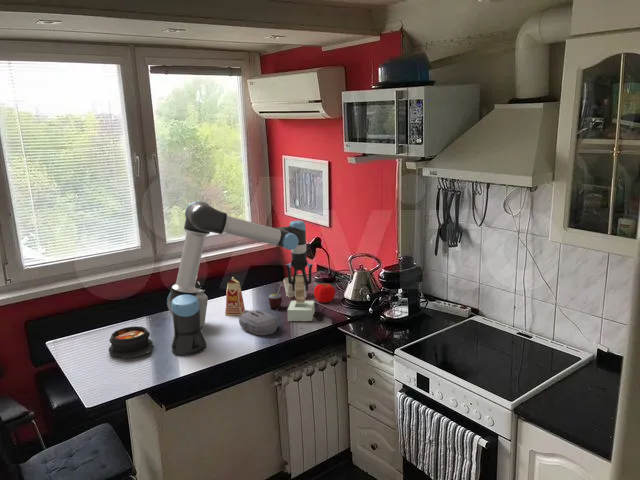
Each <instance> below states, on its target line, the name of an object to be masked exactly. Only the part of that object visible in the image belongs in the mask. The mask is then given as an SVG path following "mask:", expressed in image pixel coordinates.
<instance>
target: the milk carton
mask: <svg viewBox="0 0 640 480" xmlns="http://www.w3.org/2000/svg"><path fill="white" fill-rule="evenodd" d="M225 297H226V299H225V302H226V303H225V312H224V313H225V314H224V316H227V317H228V316H230V317H231V316H232V317H233V316H234V317H235V316H237V317H238V316H239V317H240V316H241V315H242V314H244V313H245V310H246V309H245V303H244V302H245V301H244V297H243V293H242V287H241V283H240V281H239V280H237V279H235V277H234V276H232V277H231V279H230V281H228V282H227V287H226V293H225Z"/></svg>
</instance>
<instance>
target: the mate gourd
mask: <svg viewBox="0 0 640 480" xmlns="http://www.w3.org/2000/svg"><path fill="white" fill-rule="evenodd" d="M282 285H284V281H283V282H282V283H280V285H279V287H278V291H277V292H272V293H269V295H268V303H269V306H270V307H269V309H270V310H271V309H272V310H277V309H279V310H280V308H282V302H283V297H282V294H281V293H280V290H281V287H282ZM279 307H280V308H279ZM274 308H276V309H274Z"/></svg>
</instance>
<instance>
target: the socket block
mask: <svg viewBox="0 0 640 480" xmlns="http://www.w3.org/2000/svg"><path fill="white" fill-rule="evenodd" d="M315 308H316V307H315V300H305V303H296V300H290V303H289V306H288V307H287V310H286V311H287V322H289V321H290V322H291V321H312V322H313V320H314V319H313V318H314V316H313V315H315V311H316V310H315Z"/></svg>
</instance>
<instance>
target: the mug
mask: <svg viewBox="0 0 640 480" xmlns="http://www.w3.org/2000/svg"><path fill="white" fill-rule="evenodd" d="M291 279H292V281H293V276H291ZM283 282H284V283H283V285H284V290H285V296H286V297H287V296H288V297H287V298H295V297H294V296H295V291H293V287H292V284H289V281H288V277H285V278H283ZM295 284H296V281H295Z"/></svg>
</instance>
